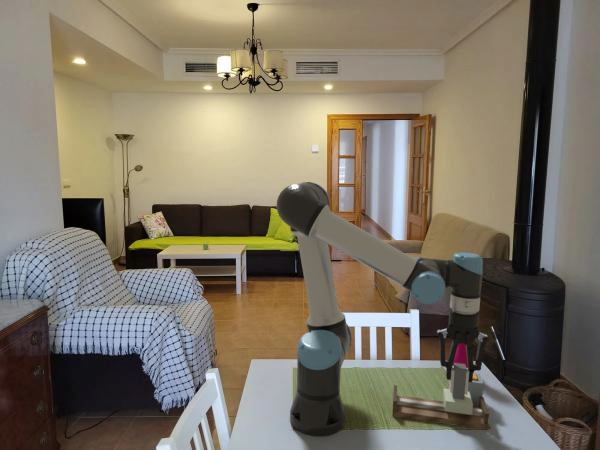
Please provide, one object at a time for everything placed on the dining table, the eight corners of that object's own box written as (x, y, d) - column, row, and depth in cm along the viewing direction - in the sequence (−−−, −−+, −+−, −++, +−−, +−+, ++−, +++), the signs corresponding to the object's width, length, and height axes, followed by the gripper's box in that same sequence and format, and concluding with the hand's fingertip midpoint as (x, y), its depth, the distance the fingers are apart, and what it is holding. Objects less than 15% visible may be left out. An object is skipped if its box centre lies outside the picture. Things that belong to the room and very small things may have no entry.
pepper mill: (474, 380, 144) (479, 322, 141) (451, 378, 146) (455, 320, 143) (470, 370, 151) (475, 314, 148) (448, 368, 153) (452, 312, 150)
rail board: (392, 415, 123) (393, 400, 123) (393, 399, 132) (393, 385, 131) (487, 429, 118) (489, 414, 117) (481, 411, 126) (483, 396, 126)
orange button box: (459, 406, 129) (461, 380, 128) (457, 396, 135) (458, 371, 133) (481, 409, 127) (483, 383, 126) (477, 398, 133) (480, 373, 132)
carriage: (445, 411, 121) (448, 370, 119) (442, 398, 127) (445, 358, 126) (472, 414, 119) (475, 373, 117) (468, 401, 126) (471, 361, 124)
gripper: (434, 311, 117) (428, 394, 121) (499, 317, 114) (491, 402, 117) (432, 303, 125) (427, 381, 128) (493, 308, 121) (486, 388, 125)
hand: (458, 391), depth 123 cm, fingers closed on carriage, 3 cm apart
